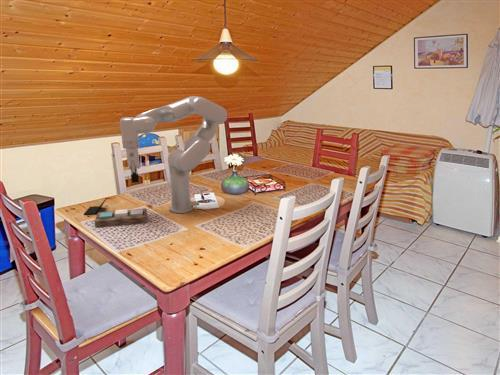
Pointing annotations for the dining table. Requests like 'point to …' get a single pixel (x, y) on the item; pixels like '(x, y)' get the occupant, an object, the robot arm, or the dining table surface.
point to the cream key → (121, 213)
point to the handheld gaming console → (94, 209)
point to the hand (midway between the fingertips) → (135, 181)
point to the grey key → (136, 212)
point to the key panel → (121, 219)
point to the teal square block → (106, 215)
